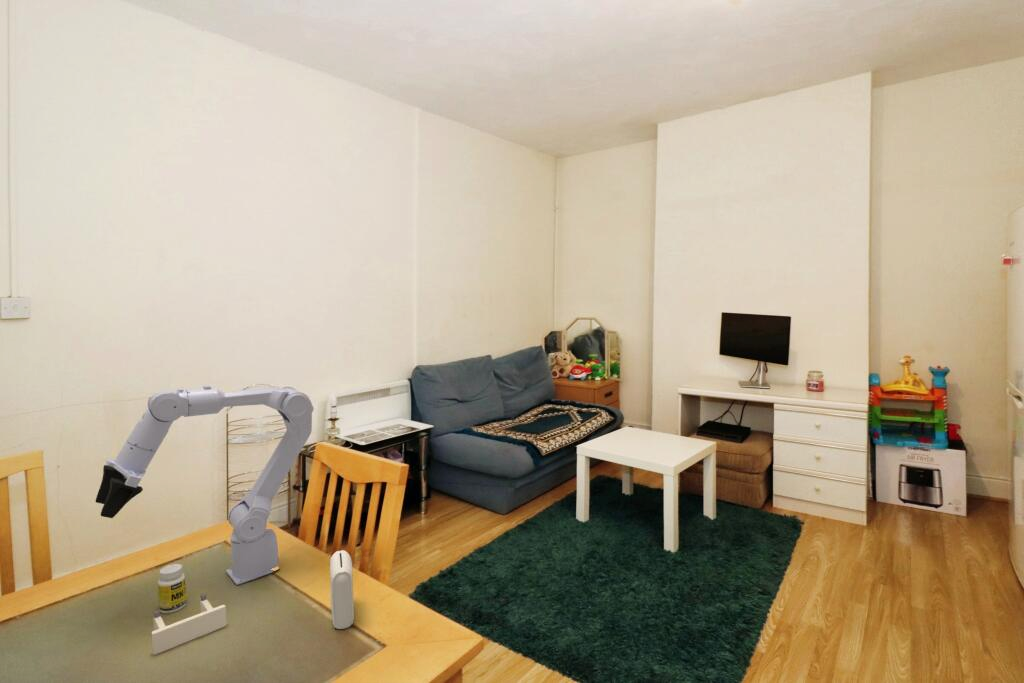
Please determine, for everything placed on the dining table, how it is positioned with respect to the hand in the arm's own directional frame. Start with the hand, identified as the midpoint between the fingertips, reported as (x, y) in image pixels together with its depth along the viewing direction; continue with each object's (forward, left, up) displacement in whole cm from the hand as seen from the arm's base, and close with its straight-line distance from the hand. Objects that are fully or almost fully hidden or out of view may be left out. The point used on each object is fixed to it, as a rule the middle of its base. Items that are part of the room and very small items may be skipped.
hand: (103, 509), depth 105 cm
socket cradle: (-10, +16, -22) cm, 29 cm away
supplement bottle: (-10, +6, -22) cm, 25 cm away
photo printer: (-34, +33, -22) cm, 52 cm away
